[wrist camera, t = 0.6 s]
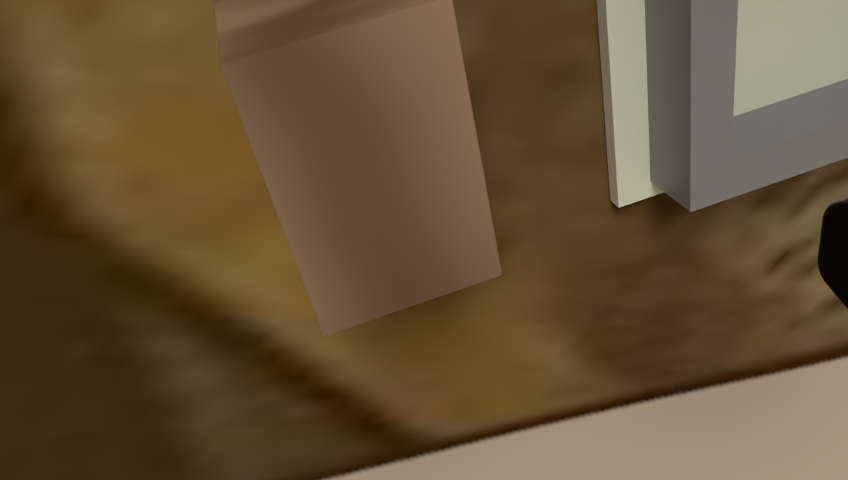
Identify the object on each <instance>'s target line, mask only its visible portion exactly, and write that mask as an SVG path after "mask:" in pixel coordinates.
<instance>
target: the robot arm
mask: <svg viewBox="0 0 848 480" xmlns="http://www.w3.org/2000/svg"><path fill="white" fill-rule="evenodd" d="M818 267H819V271H820V274H821V276H822V278H823V279H824V281H825V282H826V284H827V285H828V286H829V287H830V289H831V290H832V291H833V292H834V293H835V295H836V296H837V297H838V298H839V299H840V300H841V302H842V303H843V304H844V305H845V306H846V308H847V309H848V198H845V199H842V200H839V201H837V202H834V203H832V204H830V205H829V206H828V207H827V209H826V210H825V212H824V215H823V221H822V229H821V237H820V245H819V253H818Z"/></svg>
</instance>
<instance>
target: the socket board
mask: <svg viewBox="0 0 848 480" xmlns="http://www.w3.org/2000/svg"><path fill="white" fill-rule="evenodd" d="M596 1H597V15H598V29H599V44H600V58H601V72H602V87H603V101H604V116H605V130H606V144H607V159H608V173H609V188H610V200H611V201H612V202H613V203H614V204H615V205H616V206H617V207H618V208H620V207H623V206H625V205H628V204H631V203H634V202H637V201H640V200H643V199H646V198H649V197H652V196H655V195H658V194H661V193H664V192H665V193H666V194H668V195H669V196H670V197H671V198H673V199H674V200H675V201H676V202H678V203H679V204H680V205H682V206H683V207H684V208H685V209H687V210H688V211H689V212H693V211H696V210H698V209H701V208H704V207H707V206H710V205H713V204H716V203H719V202H722V201H724V200H727V199H730V198H733V197H736V196H739V195H742V194H745V193H747V192H750V191H753V190H756V189H759V188H762V187H765V186H768V185H771V184H773V183H776V182H779V181H782V180H785V179H788V178H791V177H794V176H796V175H799V174H802V173H805V172H808V171H811V170H814V169H817V168H820V167H822V166H825V165H828V164H831V163H834V162H837V161H840V160H843V159H845V158H848V0H596Z"/></svg>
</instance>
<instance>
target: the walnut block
mask: <svg viewBox="0 0 848 480" xmlns="http://www.w3.org/2000/svg"><path fill="white" fill-rule="evenodd" d="M214 7H215V18H216V28H217V39H218V50H219V60H220V66H221V68H222V71H223V74H224V76H225V79H226V81H227V84H228V87H229V89H230V92H231V95H232V97H233V100H234V102H235V105H236V108H237V110H238V113H239V115H240V118H241V121H242V123H243V126H244V128H245V131H246V134H247V136H248V139H249V142H250V144H251V147H252V149H253V152H254V155H255V157H256V160H257V162H258V165H259V168H260V170H261V173H262V176H263V178H264V181H265V183H266V186H267V189H268V191H269V194H270V196H271V199H272V202H273V204H274V207H275V209H276V212H277V215H278V217H279V220H280V223H281V225H282V228H283V230H284V233H285V236H286V238H287V241H288V243H289V246H290V249H291V251H292V254H293V257H294V259H295V262H296V264H297V267H298V270H299V272H300V275H301V277H302V280H303V283H304V285H305V288H306V291H307V293H308V296H309V298H310V301H311V304H312V306H313V309H314V311H315V314H316V317H317V319H318V322H319V324H320V327H321V330H322V332H323V335H324V337H325V336H327V335H330V334H333V333H336V332H339V331H342V330H345V329H348V328H351V327H353V326H356V325H359V324H362V323H365V322H368V321H371V320H374V319H377V318H380V317H382V316H385V315H388V314H391V313H394V312H397V311H400V310H403V309H406V308H408V307H411V306H414V305H417V304H420V303H423V302H426V301H429V300H432V299H435V298H437V297H440V296H443V295H446V294H449V293H452V292H455V291H458V290H461V289H463V288H466V287H469V286H472V285H475V284H478V283H481V282H484V281H487V280H490V279H492V278H495V277H498V276H501V275H502V271H501V266H500V260H499V255H498V249H497V244H496V238H495V233H494V227H493V222H492V216H491V211H490V205H489V200H488V194H487V189H486V183H485V178H484V172H483V167H482V161H481V156H480V150H479V145H478V139H477V134H476V128H475V123H474V117H473V112H472V106H471V101H470V95H469V90H468V84H467V79H466V73H465V68H464V62H463V57H462V51H461V46H460V40H459V35H458V29H457V24H456V18H455V13H454V7H453V2H452V0H214Z"/></svg>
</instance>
